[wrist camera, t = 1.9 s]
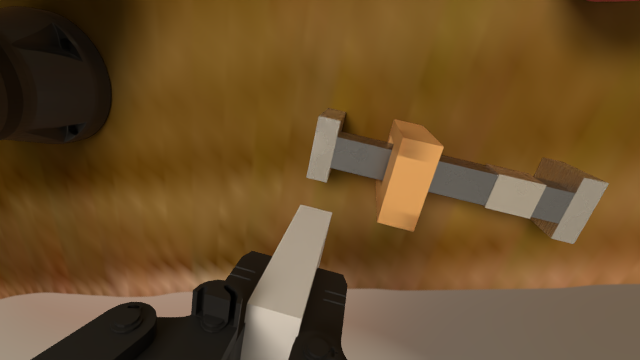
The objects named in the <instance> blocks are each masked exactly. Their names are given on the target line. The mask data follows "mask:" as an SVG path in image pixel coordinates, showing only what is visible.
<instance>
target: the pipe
mask: <svg viewBox="0 0 640 360" xmlns="http://www.w3.org/2000/svg"><path fill="white" fill-rule="evenodd" d="M345 115H346V112H343V111H339V110H335V109H330V108H328V109H327V110H325V111H324V112H323V113H322V114H321V115H319V118H318V123H317V128H316V133H315V138H314V143H313V148H312V152H311V157H310V162H309V167H308V172H307V177H306V178H310V179H314V180H318V181H322V182H327V180H328V178H329V175H330V173H331V170H332V168H333V169H337V170H342V171H346V172H350V173H354V174H358V175H362V176H366V177H370V178H374V179H378V180H382V181H383V179H384V175H385V172H386V169H387V165H388V162H389V158H390V155H391V152H392V148H393V145H394V144H392V143H388V142H384V141H380V140H375V139H371V138H367V137H363V136H358V135H354V134H350V133H346V132H342V128H343V123H344V119H345ZM608 184H609V183H607V182H605V181H603V180H601V179H598V178H596V177H594V176H592V175H590V174H588V173H585V172H583V171H581V170H579V169H577V168H575V167H573V166H570V165H568V164H566V163H564V162H561V161H556V160H552V159H548V158H543V159H542V161H541V163H540V165H539V167H538V169H537V171H536V173H535V175H534V177H533V176H531V175H530V174H528V173H524V172H520V171H515V170H511V169H507V168H503V167H498V166H494V165H490V164H486V165H482V164H477V163H473V162H469V161H465V160H460V159H456V158H452V157H448V156H443V155H441V156H440V159H439V162H438V165H437V167H436V170H435V173H434V176H433V179H432V181H431V184H430V187H429V190H428V192H431V193H435V194H440V195H444V196H448V197H452V198H456V199H460V200H464V201H468V202H472V203H476V204H480V205H483V206H484V207H485V208H488V209H492V210H496V211H500V212H504V213H508V214H512V215H516V216H521V217H525V218H529V219H531V220H532V221H533V222H534V223H535V224H536V225H537V226H538V227H539V228H540V229H541V230H543V231H544V232H545V233H546V234H547V235H548V236H549V237H550V238H552V239H556V240H560V241H564V242H568V243H572V244H574V243H575V241H576V239H577V238H578V236H579V234H580V232H581V231H582V229H583V227H584V226H585V224H586V222H587V220H588V219H589V217H590V215H591V214H592V212H593V210H594V208H595V207H596V205H597V203H598V202H599V200H600V198H601V196H602V195H603V193H604V191H605V189H606V188H607V186H608Z"/></svg>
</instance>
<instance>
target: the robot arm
mask: <svg viewBox="0 0 640 360" xmlns="http://www.w3.org/2000/svg"><path fill="white" fill-rule="evenodd" d="M110 103H111V89H110V82H109V77H108V73H107V70H106V67H105V65H104V62H103V60H102V58H101V56H100V54H99V52H98V51H97V49H96V48H95V46H94V45H93V43H92V42H91V41H90V39H89V38H88V37H87V36H86V35H85V34H84V33H83V32H82V31H81V30H80V29H79V28H78V27H77V26H76V25H75V24H73V23H72V22H71V21H69V20H68V19H66V18H64V17H62V16H60V15H58V14H56V13H53V12H50V11H46V10H40V9H35V8H30V7H22V6H13V7H5V8H0V140H15V141H26V142H37V143H48V144H64V143H69V142H74V141H78V140H82V139H86V138H88V137H90V136H92V135H93V134H95V133H96V132H97V131H98V130H99V129H100V128H101V127H102V125H103V124H104V122H105V120H106V118H107V116H108V113H109V109H110ZM331 215H332V213H331V212H327V211H324V210H320V209H316V208H312V207H308V206H304V205H300V207H299V209H298V211H297V212H296V214H295V216H294V218H293V220H292V222H291V223H290V225H289V227H288V229H287V231H286V233H285V234H284V236H283V238H282V240H281V242H280V244H279V245H278V247H277V249H276V251H275V253H274V255H273V256H269V255H265V254H262V253H258V252H255V251H251V252H250V253H248V254H246V255H245V256H243V257H242V258H241V259H240V260H239V262H238V263H237V265H236V267H235V268H234V269H233V270H232V272H231V273H230V275H229V276H228V277H227V279H226V280H225V281H223V280H213V281H208V282H205V283H203V284H200V285H199V286H198V287H196V288H195V289H194V290H193V299H192V312H191V315H190V316H186V317H157V316H156V311H155V309H154V308H153V307H152V306H150V305H148V304H145V303H142V302H129V303H125V304H120V305H118V306H116V307H114V308H112V309H110V310H108V311H106V312H105V313H103V314H102V315H100V316H99V317H97V318H96V319H94V320H92V321H91V322H89V323H88V324H86V325H85V326H83V327H81V328H80V329H78V330H77V331H75V332H74V333H72V334H70V335H69V336H67V337H66V338H64V339H63V340H61V341H59V342H58V343H56V344H55V345H53V346H51V347H50V348H48V349H47V350H46V351H44V352H42V353H41V354H39V355H37V356H36V357H35V358H33V359H32V360H347V359H346V357H345V355H344V353H343V351H342V347H341V335H342V327H343V318H344V310H345V301H346V293H347V283H346V281H345V278H344V276H343V275H342V274H338V273H335V272H331V271H327V270H324V269H320V268H319V264H320V260H321V256H322V252H323V248H324V244H325V240H326V236H327V232H328V228H329V223H330V219H331Z"/></svg>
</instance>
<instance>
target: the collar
mask: <svg viewBox="0 0 640 360" xmlns="http://www.w3.org/2000/svg"><path fill="white" fill-rule="evenodd" d="M387 142H388V143H392V144H394V145H393V148H392V152H391V155H390V158H389V162H388V165H387V169H386V172H385V175H384V179H383V181H382V180H378V179H376V183H375V185H376V208H377V222H378V223H382V224H386V225H390V226H393V227H397V228H401V229H405V230H409V231H413V232H414V229H415V226H416V223H417V220H418V218H419V215H420V212H421V209H422V207H423V204H424V201H425V198H426V195H427V193H428V190H429V187H430V184H431V181H432V179H433V176H434V173H435V170H436V167H437V165H438V162H439V159H440V156H441V153H442V151H443V148H444V146H443V145H442V144H441V143H440V142H439V141H438V140H437V139H436V138H435V137H434V136H433V135H432V134H431V133H430V132H429V131H428V130H427V129H426V128H425V127H424V126H422V125H418V124H413V123H409V122H405V121H400V120H396V119H394V120H393V124H392V127H391V131H390V134H389V138H388V141H387Z"/></svg>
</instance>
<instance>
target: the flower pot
mask: <svg viewBox="0 0 640 360" xmlns="http://www.w3.org/2000/svg"><path fill="white" fill-rule="evenodd" d="M587 1H594V2H601V1H640V0H587Z"/></svg>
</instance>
